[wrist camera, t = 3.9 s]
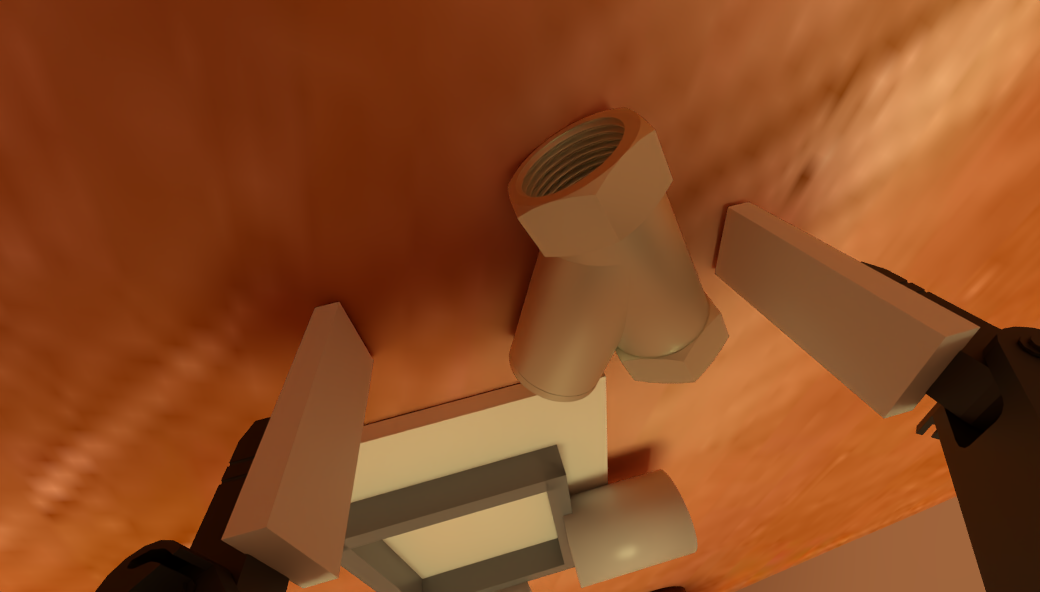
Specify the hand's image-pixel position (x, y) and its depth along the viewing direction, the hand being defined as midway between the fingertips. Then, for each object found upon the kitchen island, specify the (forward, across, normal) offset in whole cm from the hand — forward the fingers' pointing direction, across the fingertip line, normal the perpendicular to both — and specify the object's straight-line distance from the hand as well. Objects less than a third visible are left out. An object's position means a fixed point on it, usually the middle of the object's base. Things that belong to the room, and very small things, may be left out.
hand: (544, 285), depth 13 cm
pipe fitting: (+1, +1, 0) cm, 1 cm away
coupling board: (0, -4, -16) cm, 16 cm away
